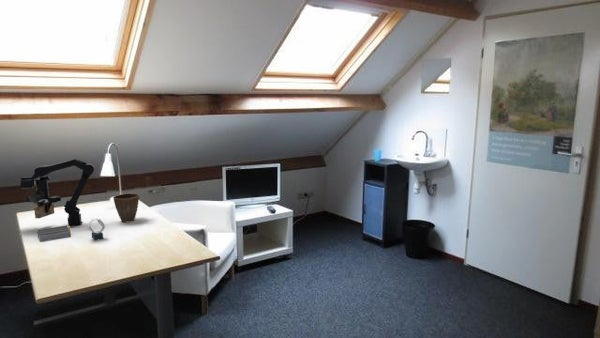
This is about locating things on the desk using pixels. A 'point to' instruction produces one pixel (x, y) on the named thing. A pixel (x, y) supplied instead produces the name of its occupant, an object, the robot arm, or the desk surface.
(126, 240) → the desk surface
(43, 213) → the panel
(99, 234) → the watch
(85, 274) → the desk surface
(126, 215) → the plant pot
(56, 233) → the rack
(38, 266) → the desk surface
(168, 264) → the desk surface
